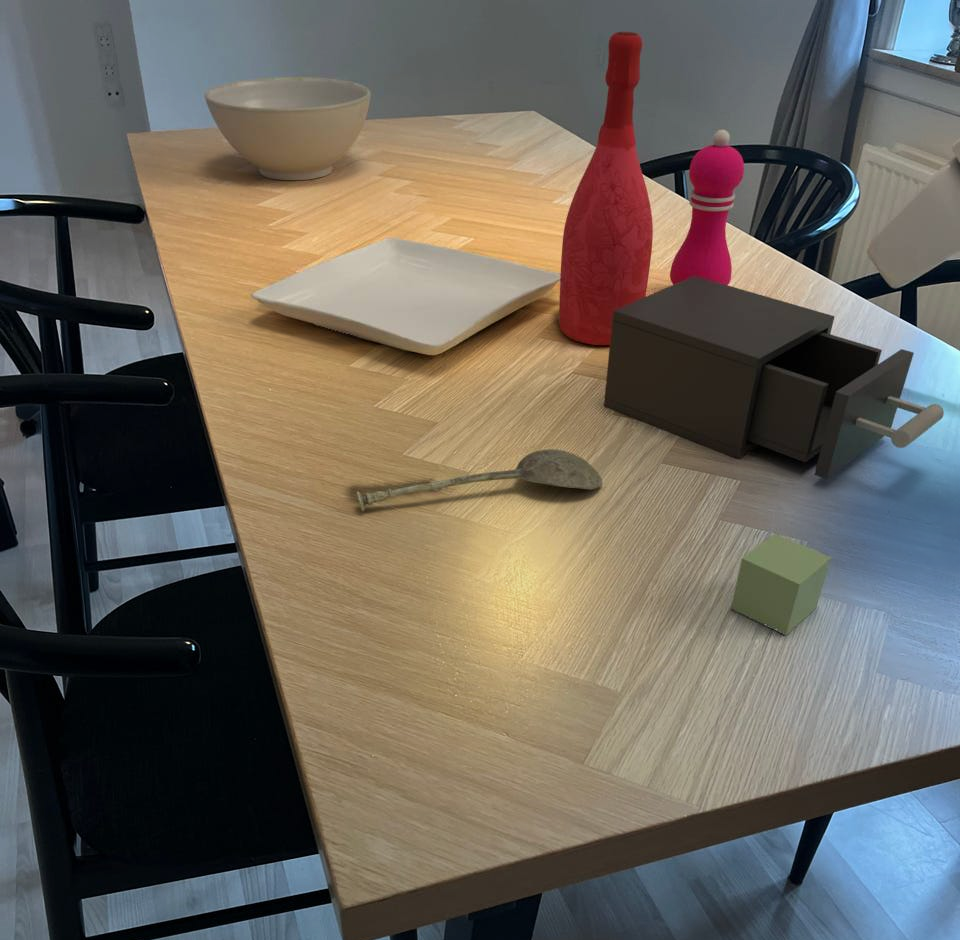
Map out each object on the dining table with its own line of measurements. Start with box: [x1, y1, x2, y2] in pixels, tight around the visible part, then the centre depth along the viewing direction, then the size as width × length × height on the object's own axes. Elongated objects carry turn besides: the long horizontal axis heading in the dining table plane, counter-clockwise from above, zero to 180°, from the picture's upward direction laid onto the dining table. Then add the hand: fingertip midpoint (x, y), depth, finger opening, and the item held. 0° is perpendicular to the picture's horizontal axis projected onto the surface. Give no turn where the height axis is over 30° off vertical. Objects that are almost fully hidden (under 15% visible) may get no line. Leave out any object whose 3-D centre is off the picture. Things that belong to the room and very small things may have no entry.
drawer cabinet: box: [603, 276, 835, 460], centre depth 96 cm, size 16×14×10 cm
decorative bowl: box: [204, 76, 372, 181], centre depth 164 cm, size 27×27×12 cm
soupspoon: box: [356, 448, 603, 513], centre depth 85 cm, size 22×3×7 cm
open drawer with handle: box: [747, 332, 945, 480], centre depth 90 cm, size 20×13×8 cm, turn 47°
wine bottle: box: [558, 31, 654, 346], centre depth 104 cm, size 10×10×30 cm
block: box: [730, 533, 832, 635], centre depth 71 cm, size 5×5×5 cm
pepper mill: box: [669, 129, 745, 286], centre depth 113 cm, size 7×7×20 cm
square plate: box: [250, 237, 561, 356], centre depth 117 cm, size 27×27×4 cm
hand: (896, 273), depth 75 cm, fingers closed
